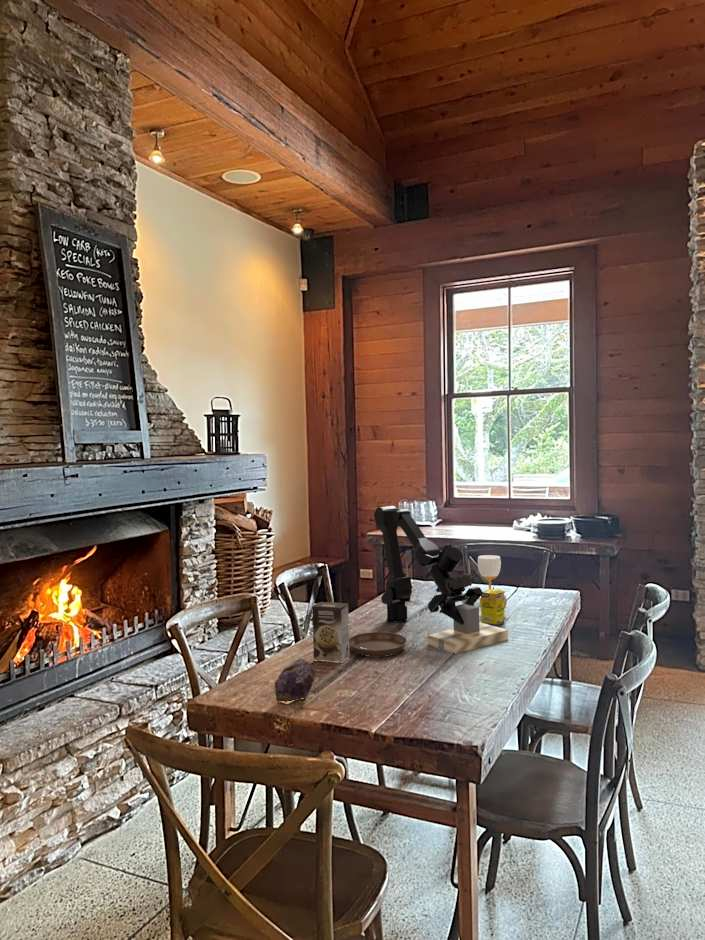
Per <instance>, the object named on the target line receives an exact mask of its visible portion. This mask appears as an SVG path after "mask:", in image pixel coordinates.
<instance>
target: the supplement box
mask: <svg viewBox="0 0 705 940" xmlns="http://www.w3.org/2000/svg"><path fill="white" fill-rule="evenodd" d="M501 590H502V589H499V590H496V589H494V590H493V588H491V589H489V588H488V589H486V590H484V591H483V590H482V592H483V594H482V595H481V604H480V620H481V621H480V623H484V624H488V625H492V626H495V627H499V626H500V625H502V624H505V609H504V595H505V593H504V592H505V591H504V590H502V591H501Z"/></svg>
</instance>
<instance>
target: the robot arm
mask: <svg viewBox="0 0 705 940" xmlns="http://www.w3.org/2000/svg"><path fill="white" fill-rule="evenodd" d="M373 517H374V521H375V524H376V527H377V528H378V530H379V531H380V532H381V534H382V538H383V539H382V540H383V545H384V551H385V557H386V563H387V564H386V565H387V569H388V576H387V580H386V582H385V588H386V590H385V591H384V592H383V594H382V595H381V599H380V600H381V602H382V604H383V605H386V617H387V618H386V622H387V623H406V622H407V619H408V606H407V605H406V603H409V602H410V600H411V596H412V593H413V585H412V579H411V577H410V576H407V575H406V573H405V572H404V568H403V562H402V555H401V550H400V549H401V548H400V543H399V538H398V529H399V528H398V527H399V526H400V528H401V530H402V531H403V533H404V534H405V535H406V537H407V539H408V540H409V542H410V544H411V545H412V546H413V548H414V550H413V551H414V552H413V553H414V556H415V559H416V561H417V562H418V565H420V566H421V567H429V566H431V567H430V568H427V570H426V573H425V578H426V579H430V578H431V579H432V580H433V582H434V584H435V585H436V589H435V591H436V592H437V593H440V594H435V595H433V596H432V598H431V599H430V601H429V602H428V604H427V609H428V610H429V612H430V613H431V614H432V613H437V612H438V611H439V613H440V614H443V615H444V616H447V617H449V618H450V619H452V620H453V621H454V620H455V621H457V622H458V623H460V624H461V625H463V624H464V621H463V619H462V617H461V615H460V614H459V612H458V610H457V608H456V606H457V605H456V603H457V602H461V604H468V605H472V606H475V603H476V602H477V601H478V600H479V598H480V596H481V595H482V594H483V590H482V589H481V587H479V586H475V587H470V586H472V583H474V582H475V579H474V576H473V575H472V574H471V572H467V573H464V574H463V575H462V576H459V577H456V576H454V577H453V575H452V574H451V573H452V572H454V571H455V570H456V568H457V567H458V566H459V564H460V563H461V561H462V560H463V559H464V555H463V553H462V552H461V551H460V550H459V549H457V548H456V547H454V546H452V545H451V543H450V544H445V545H444V546H443V548H442V550H441V549H440V548H439V546H438V545H437V544H436V543H434V542H433V541H431V540H430V539H428V538H427V537H426V536H425V534H424V533H423V531H422V530H421V528H420V527H419V526H418V524H417V522H416V521H415V519H414V518H413V516H412V515H411V512H410V510H409V509H407V508H397V507H396V506H395V505H386V506H379V507H377V508H376V509H375V511H374V513H373ZM467 587H470V588H468V589H467V590H466V588H467ZM463 592H464V593H463ZM439 609H440V610H439Z"/></svg>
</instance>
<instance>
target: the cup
mask: <svg viewBox="0 0 705 940" xmlns="http://www.w3.org/2000/svg"><path fill="white" fill-rule="evenodd" d="M501 566H502V561H501V556H499V555H496V554H495V555H494V554H493V555H492V554H485V555H483V554H482V555H478V557H477V568H478V572H479V574H480V576H481V577H482V578H483V579H485V580H487V581H488V589H492V581H493V580H494V579H496V578H497V577H498V576H499V573H500V572H501ZM479 599H480V598H479ZM479 599H478V600H479Z"/></svg>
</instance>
